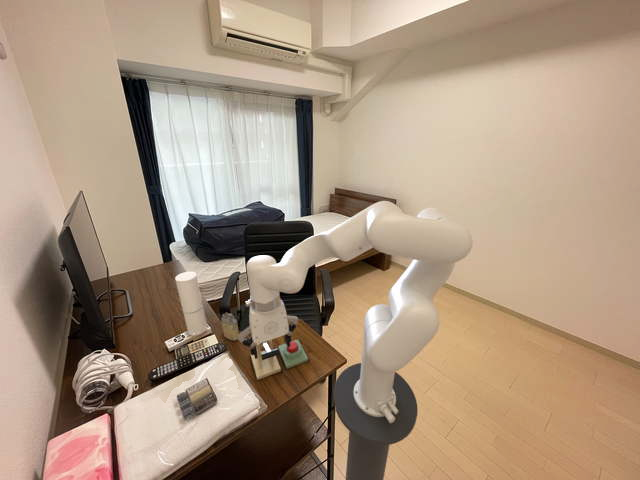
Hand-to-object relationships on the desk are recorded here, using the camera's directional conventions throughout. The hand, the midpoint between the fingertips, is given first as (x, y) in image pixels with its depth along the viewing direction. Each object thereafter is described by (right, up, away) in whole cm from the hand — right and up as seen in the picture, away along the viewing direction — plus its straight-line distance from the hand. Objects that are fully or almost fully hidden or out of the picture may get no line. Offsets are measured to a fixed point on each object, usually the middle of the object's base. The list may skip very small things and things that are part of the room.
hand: (271, 349), depth 74 cm
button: (+4, -7, +17) cm, 19 cm away
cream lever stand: (-5, -11, +14) cm, 19 cm away
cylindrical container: (-36, -5, +30) cm, 47 cm away
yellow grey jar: (-21, -6, +26) cm, 34 cm away
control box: (+4, -10, +18) cm, 21 cm away
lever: (-3, -3, +6) cm, 7 cm away
